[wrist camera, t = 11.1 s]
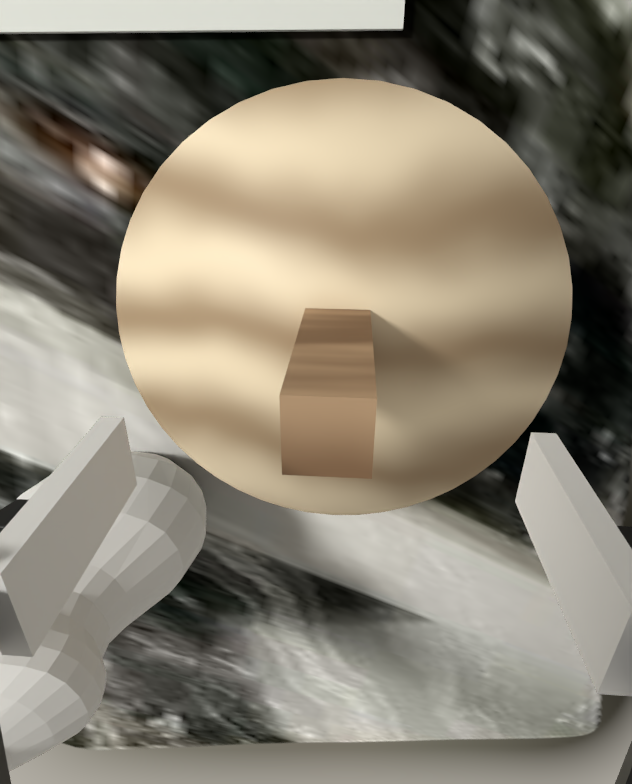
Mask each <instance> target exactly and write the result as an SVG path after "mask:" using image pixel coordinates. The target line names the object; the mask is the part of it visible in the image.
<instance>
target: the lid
mask: <svg viewBox="0 0 632 784" xmlns="http://www.w3.org/2000/svg"><path fill="white" fill-rule="evenodd" d="M116 308H117V317H118V326H119V334H120V338H121V342H122V346H123V350H124V354H125V358H126V361H127V364H128V366H129V369H130V372H131V374H132V377H133V379H134V382H135V384H136V386H137V388H138V390H139V392H140V394H141V396H142V398H143V399H144V401H145V403H146V405H147V407H148V408H149V410H150V411H151V413H152V414H153V415H154V417H155V418H156V420H157V421H158V423H159V424H160V426H161V427H162V428H163V429H164V431H165V432H166V433H167V434H168V435H169V436H170V437H171V438H172V440H173V441H174V442H175V443H176V444H177V445H178V446H179V447H180V448H181V449H182V450H183V451H184V452H185V453H186V454H187V455H189V456H190V457H191V458H192V459H193V460H194V461H195V462H196V463H197V464H199V465H200V466H202V467H203V468H204V469H206V470H207V471H208V472H210V473H211V474H213V475H214V476H215V477H217V478H218V479H220V480H222V481H224V482H225V483H227V484H229V485H231V486H232V487H234V488H236V489H238V490H240V491H242V492H244V493H246V494H249V495H251V496H253V497H256V498H258V499H260V500H263V501H266V502H269V503H272V504H276V505H279V506H282V507H285V508H290V509H295V510H300V511H304V512H310V513H320V514H330V515H360V514H370V513H379V512H385V511H390V510H395V509H400V508H404V507H408V506H411V505H414V504H417V503H420V502H423V501H427V500H430V499H432V498H434V497H436V496H439V495H441V494H443V493H445V492H448V491H450V490H452V489H454V488H456V487H457V486H459V485H461V484H462V483H464V482H466V481H468V480H469V479H471V478H473V477H474V476H476V475H477V474H478V473H480V472H481V471H482V470H484V469H485V468H486V467H488V466H489V465H490V464H492V463H493V462H494V461H496V460H497V459H498V458H499V457H500V456H501V455H502V454H503V453H504V452H505V451H506V450H507V449H508V448H509V447H510V446H512V445H513V444H514V443H515V442H516V440H517V439H518V438H519V437H520V435H521V434H522V433H523V432H524V431H525V429H526V428H527V427H528V426H529V425H530V423H531V422H532V421H533V419H534V418H535V416H536V414H537V413H538V411H539V410H540V408H541V407H542V405H543V403H544V402H545V400H546V399H547V396H548V394H549V392H550V390H551V388H552V386H553V384H554V381H555V379H556V377H557V375H558V373H559V369H560V366H561V363H562V360H563V357H564V354H565V350H566V347H567V342H568V336H569V330H570V324H571V318H572V280H571V272H570V263H569V256H568V252H567V249H566V245H565V242H564V238H563V234H562V231H561V227H560V225H559V222H558V220H557V218H556V216H555V213H554V211H553V209H552V207H551V204H550V202H549V200H548V198H547V196H546V194H545V193H544V191H543V190H542V188H541V186H540V185H539V183H538V182H537V180H536V179H535V177H534V176H533V174H532V172H531V171H530V169H529V168H528V167H527V166H526V165H525V164H524V162H523V161H522V160H521V159H520V158H519V157H518V156H517V155H516V153H515V152H514V151H513V150H512V149H511V148H510V147H509V146H508V144H507V143H506V142H504V141H503V140H502V139H501V138H500V137H498V136H497V135H496V134H495V133H494V132H492V131H491V130H490V129H489V128H487V127H486V126H485V125H484V124H483V123H481V122H480V121H479V120H477V119H476V118H474V117H472V116H470V115H469V114H467V113H465V112H464V111H462V110H460V109H459V108H457V107H455V106H454V105H452V104H450V103H449V102H446V101H444V100H441V99H439V98H436V97H434V96H431V95H429V94H426V93H424V92H421V91H419V90H416V89H413V88H408V87H404V86H400V85H395V84H391V83H387V82H382V81H375V80H361V79H348V78H339V79H326V80H313V81H305V82H301V83H296V84H292V85H288V86H284V87H279V88H275V89H271V90H269V91H266V92H264V93H261V94H259V95H256V96H254V97H251V98H249V99H246V100H244V101H242V102H239V103H237V104H236V105H234V106H232V107H231V108H229V109H227V110H226V111H224V112H222V113H220V114H219V115H217V116H215V117H214V118H212V119H210V120H209V121H208V122H206V123H205V124H204V125H203V126H202V127H200V128H199V129H198V130H197V131H195V132H194V133H193V134H192V135H190V136H189V137H188V138H187V139H186V140H184V141H183V142H182V143H181V144H180V146H179V147H178V148H177V149H176V150H175V151H174V152H173V153H172V154H171V155H170V157H169V158H168V159H167V160H166V161H165V162H164V163H163V164H162V165H161V167H160V168H159V170H158V171H157V173H156V174H155V176H154V177H153V179H152V180H151V182H150V183H149V185H148V186H147V188H146V189H145V191H144V192H143V194H142V196H141V199H140V201H139V203H138V205H137V207H136V209H135V211H134V213H133V215H132V218H131V220H130V223H129V226H128V229H127V232H126V236H125V239H124V242H123V245H122V249H121V255H120V261H119V267H118V273H117V294H116Z"/></svg>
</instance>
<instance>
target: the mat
mask: <svg viewBox="0 0 632 784" xmlns="http://www.w3.org/2000/svg"><path fill="white" fill-rule="evenodd" d="M404 8H405V0H0V34H57V33H179V32H302V31H402V30H403V23H404Z"/></svg>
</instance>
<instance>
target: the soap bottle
mask: <svg viewBox="0 0 632 784" xmlns="http://www.w3.org/2000/svg"><path fill="white" fill-rule="evenodd" d="M131 456H132V461H133V466H134V471H135V476H136V481H137V486H136V487H135V489H134V491H133V492H132V494H131V496H130V497H129V499H128V501H127V502H126V504H125V505H124V507H123V509H122V510H121V512H120V514H119V515H118V517H117V519H116V520H115V522H114V524H113V525H112V527H111V529H110V530H109V532H108V534H107V535H106V537H105V539H104V540H103V542H102V544H101V545H100V547H99V549H98V550H97V552H96V553H95V555H94V557H93V558H92V560H91V562H90V563H89V565H88V567H87V568H86V570H85V572H84V573H83V575H82V577H81V578H80V580H79V582H78V583H77V585H76V587H75V588H74V590H73V592H72V593H71V595H70V597H69V598H68V600H67V602H66V603H65V605H64V606H63V608H62V610H61V611H60V613H59V615H58V616H57V618H56V620H55V621H54V623H53V625H52V626H51V628H50V630H49V631H48V633H47V635H46V636H45V638H44V640H43V641H42V643H41V645H40V646H39V648H38V650H37V651H36V653H35V654H34V656H33V657H25V656H10V655H2V653H1V651H0V727H1V732H2V737H3V743H4V748H5V754H6V759H7V765H8V770H9V772H10V771H11V770H13V769H15V768H17V767H19V766H21V765H23V764H25V763H27V762H29V761H30V760H32V759H34V758H36V757H37V756H40V755H42V754H44V753H45V752H47V751H49V750H51V749H52V748H54V747H55V746H57V745H59V744H61V743H62V742H64V741H66V740H67V739H69V738H70V737H72V736H74V735H75V734H77V733H79V732H80V731H81V730H82V729H83V728H84V727H85V726H86V725H87V723H88V722H89V720H90V719H91V718H92V716H93V715H94V713H95V712H96V710H97V709H98V707H99V706H100V704H101V701H102V697H103V693H104V690H105V686H106V675H107V674H106V670H105V666H104V663H103V659H102V658H103V656H104V653H105V651H106V649H107V646H108V644H109V643H110V642H111V641H112V640H113V639H114V638H115V637H116V636H117V635H118V634H119V633H120V632H121V631H122V630H123V629H124V628H125V627H126V626H128V625H129V624H130V623H131V622H133V621H134V620H135V619H137V618H138V617H139V616H140V615H142V614H143V613H144V612H146V611H147V610H148V609H149V608H151V607H152V606H153V605H154V604H156V603H157V602H158V601H160V600H161V599H162V598H163V597H165V596H166V595H167V594H169V593H170V592H171V591H172V590H173V588H174V587H175V586H176V585H177V584H178V582H179V581H180V580H181V579H182V577H183V576H184V574H185V573H186V571H187V570H188V568H189V567H190V565H191V564H192V562H193V561H194V559H195V558H196V556H197V555H198V553H199V552H200V550H201V549H202V546H203V542H204V539H205V536H206V510H207V507H206V503H205V499H204V496H203V492H202V490H201V489H200V487H199V486H198V484H197V483H196V481H195V480H194V478H193V477H192V476H191V475H190V474H189V473H187V472H186V471H184V470H183V469H182V468H180V467H179V466H178V465H176V464H175V463H174V462H172V461H171V460H170V459H168V458H165V457H162V456H160V455H157V454H152V453H146V452H131ZM47 478H48V477H47ZM47 478H46V479H47ZM46 479H44V480H43V481H41V482H40V483H38V484H37V485H35V486H34V487H32V488H30V489H29V490H27V491H26V492H24V493H23V494H21V495H20V496H19V497H18V498H17V499H26V500H29V499H30V498H31V497H32V496H33V494H34V493H35V492H36V491H37V490H38V489H39V488H40V486H41V485H42V484H43V483H44V482H45V481H46Z"/></svg>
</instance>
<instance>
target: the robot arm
mask: <svg viewBox="0 0 632 784" xmlns="http://www.w3.org/2000/svg"><path fill="white" fill-rule="evenodd" d="M136 486H137V481H136V476H135V471H134V466H133V461H132V456H131V451H130V446H129V441H128V436H127V431H126V426H125V421H124V417H100V418H99V420H98V421H97V422H96V423H95V424H94V425H93V427H92V428H91V429H90V430H89V431H88V432H87V433H86V435H85V436H84V437H83V438H82V439H81V440H80V441H79V443H78V444H77V445H76V446H75V447H74V448H73V450H72V451H71V452H70V453H69V454H68V455H67V456H66V458H65V459H64V460H63V461H62V462H61V463H60V465H59V466H58V467H57V468H56V469H55V470H54V471H53V473H52V474H51V475H50V476H49V477H48V478H47V479H46V481H45V482H44V483H43V484H42V485H41V486H40V488H39V489H38V490H37V491H36V492H35V493H34V494H33V496H32V497H31V498H30V499H29V500H26V499H17V500H15V501H14V502H12V503H11V504H9V505H7V506H6V507H4V508H3V509H1V510H0V651H1V653H2V655H10V656H25V657H33V656H34V654H35V653H36V651H37V650H38V648H39V646H40V645H41V643H42V641H43V640H44V638H45V636H46V635H47V633H48V631H49V630H50V628H51V626H52V625H53V623H54V621H55V620H56V618H57V616H58V615H59V613H60V611H61V610H62V608H63V606H64V605H65V603H66V602H67V600H68V598H69V597H70V595H71V593H72V592H73V590H74V588H75V587H76V585H77V583H78V582H79V580H80V578H81V577H82V575H83V573H84V572H85V570H86V568H87V567H88V565H89V563H90V562H91V560H92V558H93V557H94V555H95V553H96V552H97V550H98V549H99V547H100V545H101V544H102V542H103V540H104V539H105V537H106V535H107V534H108V532H109V530H110V529H111V527H112V525H113V524H114V522H115V520H116V519H117V517H118V515H119V514H120V512H121V510H122V509H123V507H124V505H125V504H126V502H127V501H128V499H129V497H130V496H131V494H132V492H133V491H134V489H135V487H136ZM515 502H516V505H517V507H518V509H519V512H520V514H521V516H522V519H523V521H524V523H525V526H526V528H527V531H528V533H529V535H530V538H531V540H532V542H533V545H534V547H535V549H536V552H537V554H538V556H539V559H540V561H541V563H542V566H543V568H544V570H545V573H546V575H547V577H548V580H549V582H550V584H551V587H552V589H553V591H554V594H555V596H556V598H557V601H558V603H559V605H560V608H561V610H562V613H563V615H564V617H565V620H566V622H567V624H568V627H569V629H570V631H571V634H572V636H573V638H574V641H575V643H576V645H577V648H578V650H579V652H580V655H581V657H582V659H583V662H584V664H585V666H586V669H587V671H588V673H589V676H590V678H591V680H592V683H593V685H594V688H595V690H596V692H597V694H606V695H622V696H623V695H624V696H632V527H626V526H616V524H615V523H614V521H613V520H612V518H611V517H610V515H609V513H608V512H607V510H606V509H605V507H604V506H603V504H602V503H601V501H600V500H599V498H598V497H597V495H596V494H595V492H594V491H593V489H592V487H591V486H590V484H589V483H588V481H587V480H586V478H585V477H584V475H583V474H582V472H581V471H580V469H579V468H578V466H577V465H576V463H575V461H574V460H573V458H572V457H571V455H570V454H569V452H568V451H567V449H566V448H565V446H564V445H563V443H562V442H561V440H560V439H559V437H558V435H557V434H556V433H533V432H531V435H530V440H529V444H528V448H527V452H526V457H525V461H524V465H523V470H522V474H521V478H520V483H519V487H518V491H517V495H516V500H515ZM0 784H11V781H10V775H9V770H8V765H7V759H6V754H5V748H4V743H3V737H2V732H1V727H0ZM615 784H632V742H631V744H630V747H629V749H628V752H627V755H626V757H625V760H624V762H623V765H622V767H621V770H620V772H619V775H618V777H617V780H616V782H615Z"/></svg>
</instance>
